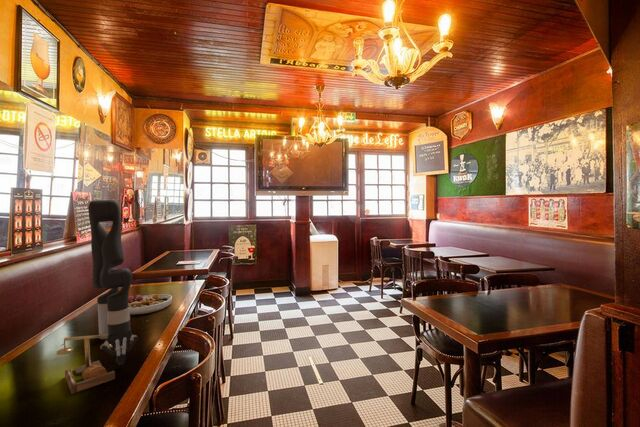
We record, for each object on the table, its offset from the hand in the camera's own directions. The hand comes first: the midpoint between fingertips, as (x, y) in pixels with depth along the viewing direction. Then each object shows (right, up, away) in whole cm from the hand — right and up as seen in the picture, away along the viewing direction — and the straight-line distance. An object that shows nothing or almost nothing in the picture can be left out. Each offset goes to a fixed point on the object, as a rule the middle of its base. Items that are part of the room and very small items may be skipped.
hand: (121, 363), depth 125 cm
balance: (-13, -2, 0) cm, 13 cm away
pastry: (-5, -2, -6) cm, 9 cm away
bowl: (-33, -2, +78) cm, 85 cm away
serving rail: (-7, -2, -7) cm, 10 cm away
